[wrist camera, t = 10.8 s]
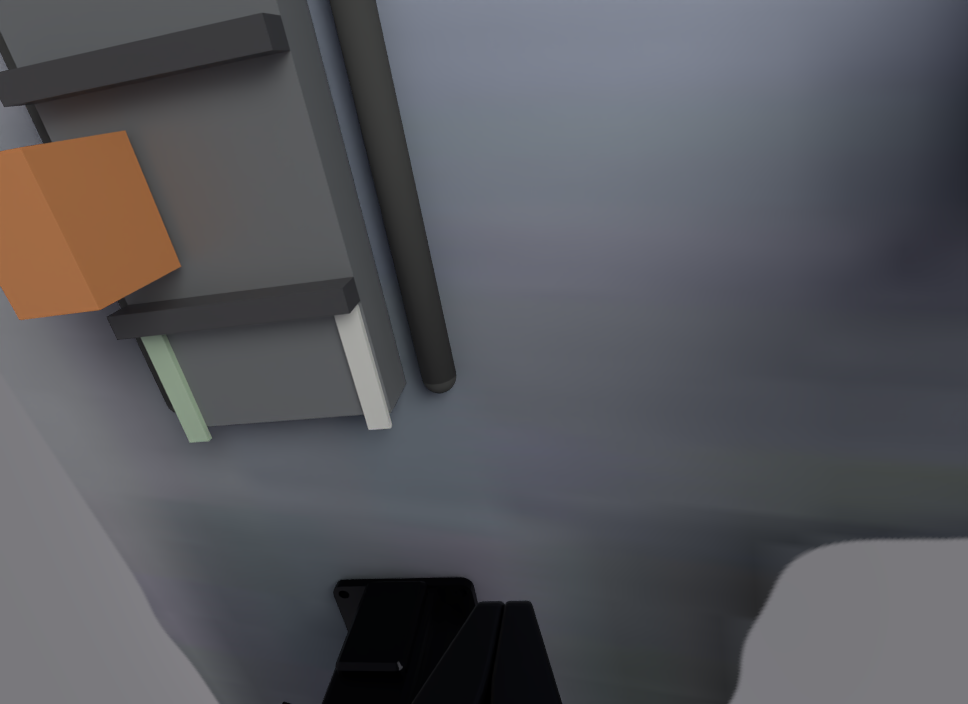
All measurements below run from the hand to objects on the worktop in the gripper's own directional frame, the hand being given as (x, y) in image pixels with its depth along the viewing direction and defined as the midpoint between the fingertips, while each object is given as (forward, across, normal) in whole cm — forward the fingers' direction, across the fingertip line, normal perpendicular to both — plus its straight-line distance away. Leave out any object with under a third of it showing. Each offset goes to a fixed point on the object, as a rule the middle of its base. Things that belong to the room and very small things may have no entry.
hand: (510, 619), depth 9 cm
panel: (+12, +9, -6) cm, 16 cm away
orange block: (+10, +12, -6) cm, 16 cm away
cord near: (+12, +4, -6) cm, 14 cm away
